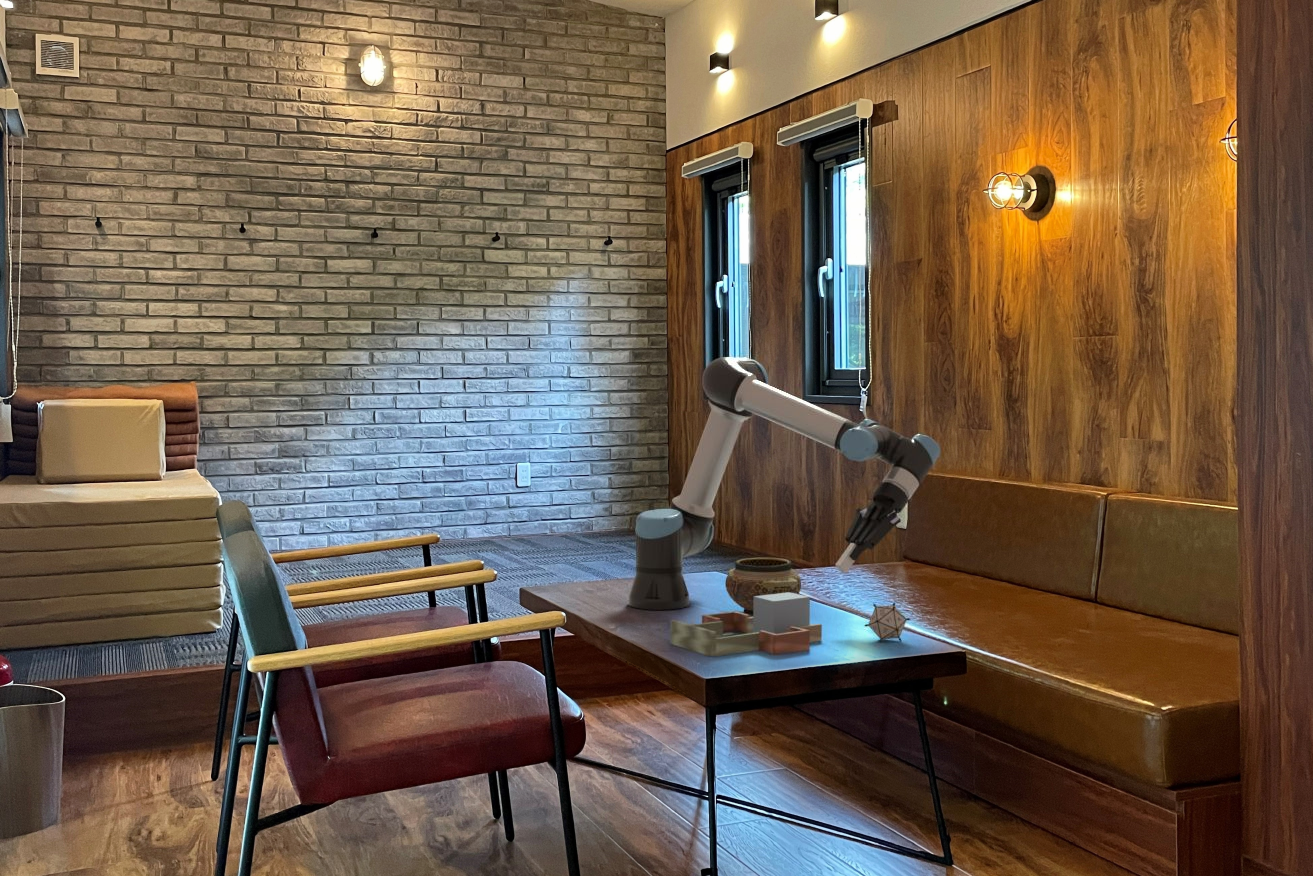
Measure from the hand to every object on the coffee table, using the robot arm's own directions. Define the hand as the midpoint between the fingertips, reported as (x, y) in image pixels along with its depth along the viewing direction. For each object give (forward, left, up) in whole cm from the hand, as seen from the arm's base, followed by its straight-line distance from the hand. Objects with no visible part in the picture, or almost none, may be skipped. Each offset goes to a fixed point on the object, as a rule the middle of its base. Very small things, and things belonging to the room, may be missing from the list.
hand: (840, 568), depth 274 cm
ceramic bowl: (-23, -4, -14) cm, 27 cm away
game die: (+15, 0, -14) cm, 20 cm away
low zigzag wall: (0, -26, -14) cm, 29 cm away
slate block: (0, -17, -14) cm, 22 cm away
